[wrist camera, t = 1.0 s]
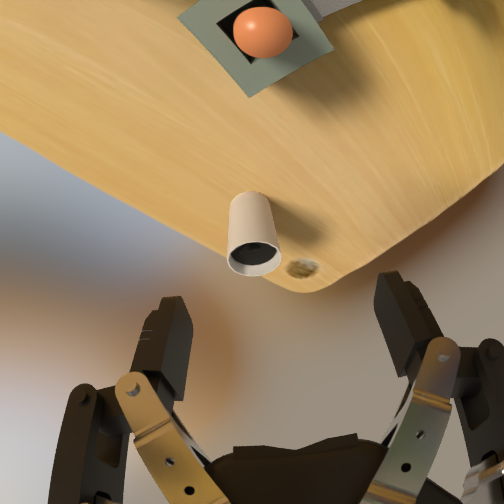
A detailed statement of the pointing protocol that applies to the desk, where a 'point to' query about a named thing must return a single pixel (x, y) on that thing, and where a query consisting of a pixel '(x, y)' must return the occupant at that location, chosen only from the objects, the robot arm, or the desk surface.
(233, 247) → the cream cup
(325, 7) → the rail
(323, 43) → the grey-green socket block
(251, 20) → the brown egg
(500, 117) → the desk surface
